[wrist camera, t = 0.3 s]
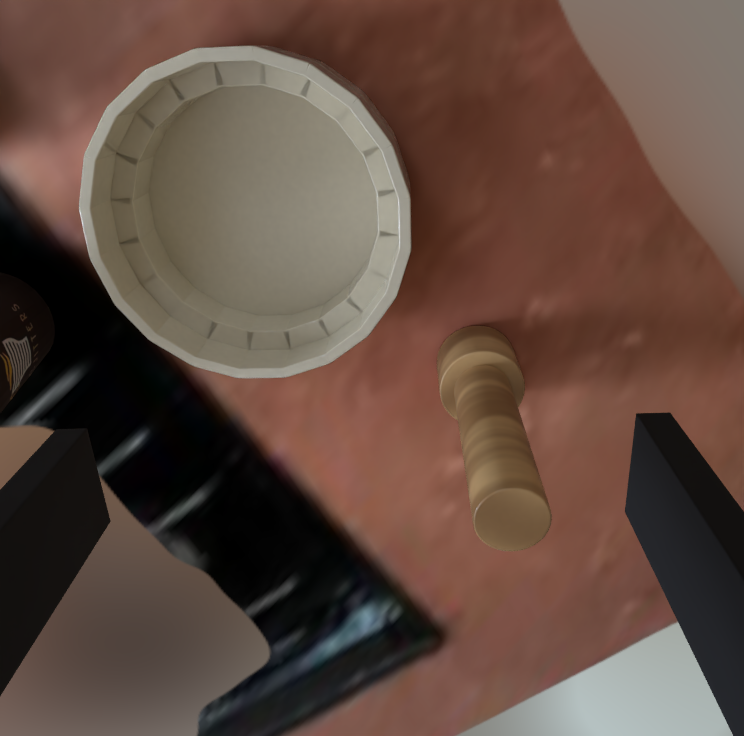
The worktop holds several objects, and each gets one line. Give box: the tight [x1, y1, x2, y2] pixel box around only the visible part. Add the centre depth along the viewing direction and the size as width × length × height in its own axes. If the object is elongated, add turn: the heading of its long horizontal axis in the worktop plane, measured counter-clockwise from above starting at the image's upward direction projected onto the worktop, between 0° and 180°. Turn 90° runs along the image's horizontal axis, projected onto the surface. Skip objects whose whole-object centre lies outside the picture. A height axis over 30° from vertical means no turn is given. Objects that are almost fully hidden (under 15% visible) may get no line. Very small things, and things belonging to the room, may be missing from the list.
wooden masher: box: [437, 326, 552, 551], centre depth 36 cm, size 5×5×16 cm
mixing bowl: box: [79, 45, 411, 378], centre depth 37 cm, size 16×16×6 cm
